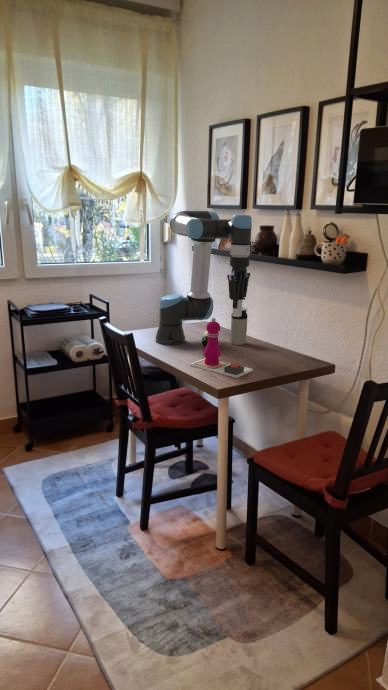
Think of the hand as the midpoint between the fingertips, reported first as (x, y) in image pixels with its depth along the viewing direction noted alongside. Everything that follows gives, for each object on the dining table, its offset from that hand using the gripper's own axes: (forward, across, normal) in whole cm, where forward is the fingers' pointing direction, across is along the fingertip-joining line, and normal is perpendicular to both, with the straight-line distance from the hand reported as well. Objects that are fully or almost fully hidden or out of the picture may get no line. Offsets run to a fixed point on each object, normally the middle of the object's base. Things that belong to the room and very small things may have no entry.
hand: (236, 316), depth 201 cm
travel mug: (+25, +43, +26) cm, 56 cm away
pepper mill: (+24, +3, +14) cm, 27 cm away
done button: (+22, 0, 0) cm, 22 cm away
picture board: (+24, +3, +8) cm, 26 cm away
